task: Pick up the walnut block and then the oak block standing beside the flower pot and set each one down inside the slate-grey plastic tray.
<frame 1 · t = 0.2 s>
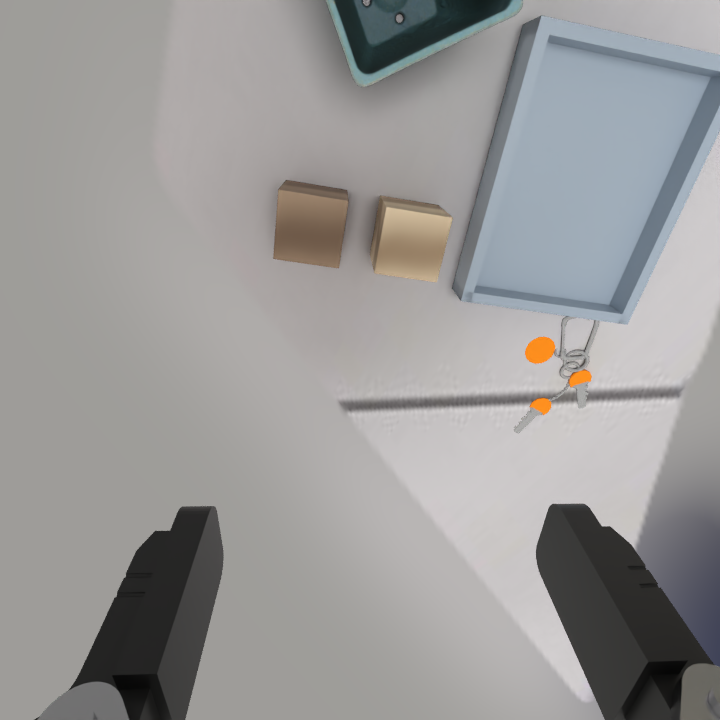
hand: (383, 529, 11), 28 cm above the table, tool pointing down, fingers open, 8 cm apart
key chain: (554, 373, 43), on the table
oak block: (403, 230, 35), on the table
walnut block: (313, 216, 34), on the table
tray: (571, 188, 34), on the table
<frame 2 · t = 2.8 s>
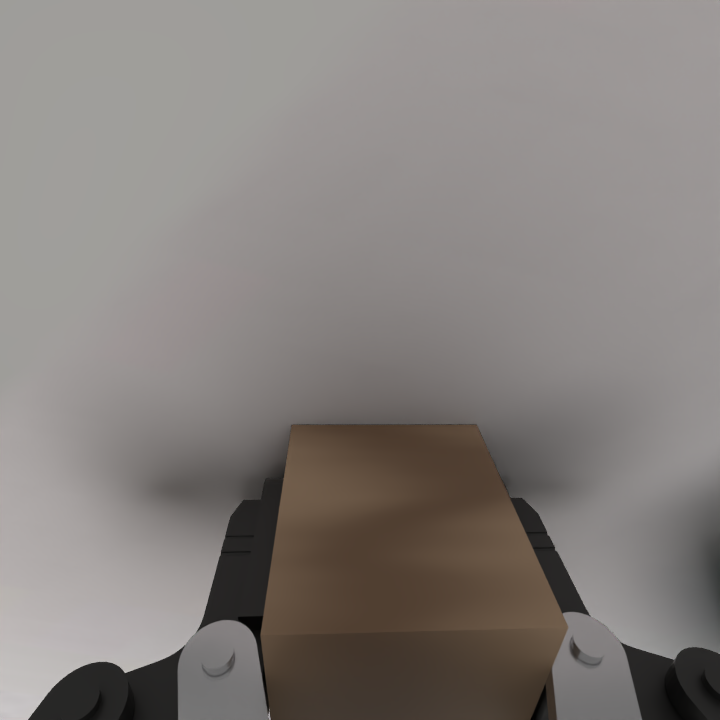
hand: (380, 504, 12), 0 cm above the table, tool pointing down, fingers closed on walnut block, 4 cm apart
walnut block: (380, 493, 12), on the table, touching gripper
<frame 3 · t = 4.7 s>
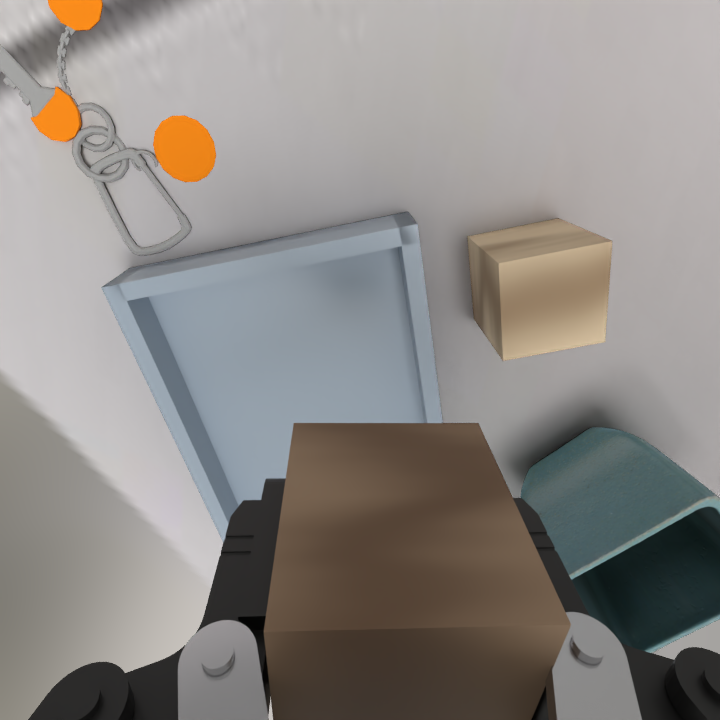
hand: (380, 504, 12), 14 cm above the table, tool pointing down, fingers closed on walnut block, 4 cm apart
key chain: (111, 101, 20), on the table
flower pot: (577, 464, 30), on the table
oak block: (513, 270, 23), on the table
walnut block: (381, 492, 12), point 13 cm above the table, touching gripper
tray: (310, 393, 26), on the table
when the fingers open (3 cm above the table, at t = 6.9 s): walnut block drops 2 cm, resting on tray.
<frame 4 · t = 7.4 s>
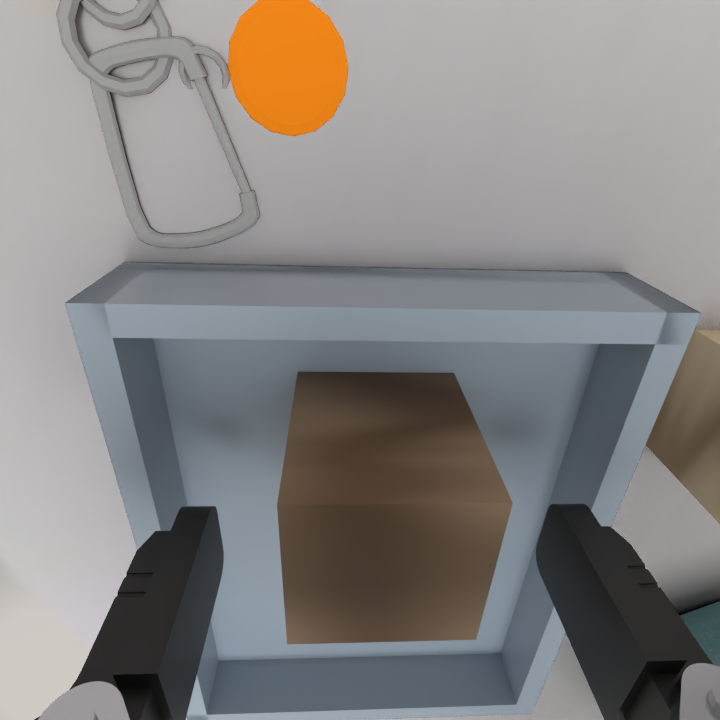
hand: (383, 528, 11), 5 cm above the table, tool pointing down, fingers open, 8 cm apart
flower pot: (681, 633, 22), on the table
walnut block: (372, 434, 14), point 1 cm above the table, touching tray
tray: (368, 503, 17), on the table
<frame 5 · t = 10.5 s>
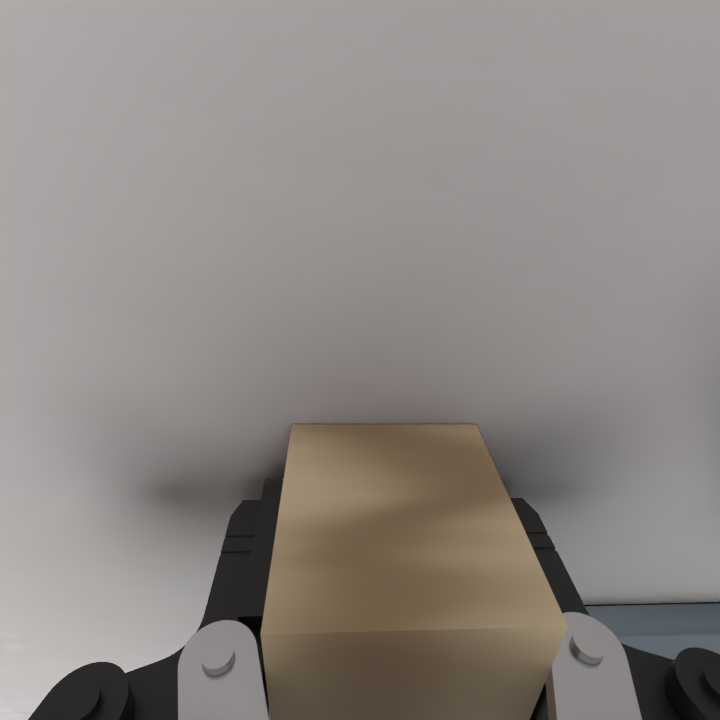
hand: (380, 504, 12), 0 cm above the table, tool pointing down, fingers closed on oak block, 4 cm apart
oak block: (380, 492, 12), on the table, touching gripper
tray: (488, 717, 18), on the table
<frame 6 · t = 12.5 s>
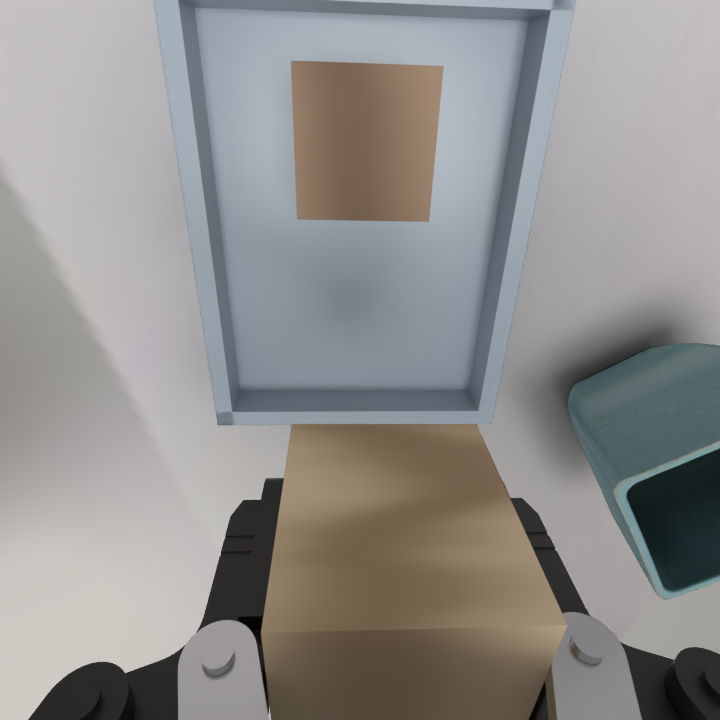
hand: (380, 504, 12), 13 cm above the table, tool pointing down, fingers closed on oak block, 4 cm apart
flower pot: (621, 392, 27), on the table
oak block: (380, 492, 12), point 13 cm above the table, touching gripper
walnut block: (358, 140, 19), point 1 cm above the table, touching tray
tray: (358, 232, 21), on the table
when the fingers open (3 cm above the table, at t = 14.4 s): oak block drops 2 cm, resting on tray.
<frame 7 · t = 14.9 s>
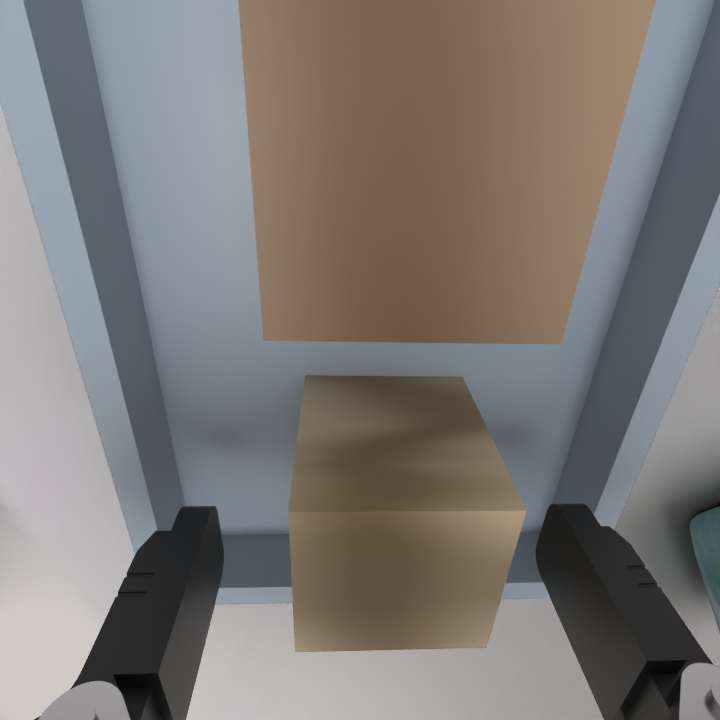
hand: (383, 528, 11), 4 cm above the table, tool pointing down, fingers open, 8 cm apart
oak block: (380, 439, 14), point 1 cm above the table, touching tray
walnut block: (390, 153, 10), point 1 cm above the table, touching tray
tray: (381, 304, 13), on the table
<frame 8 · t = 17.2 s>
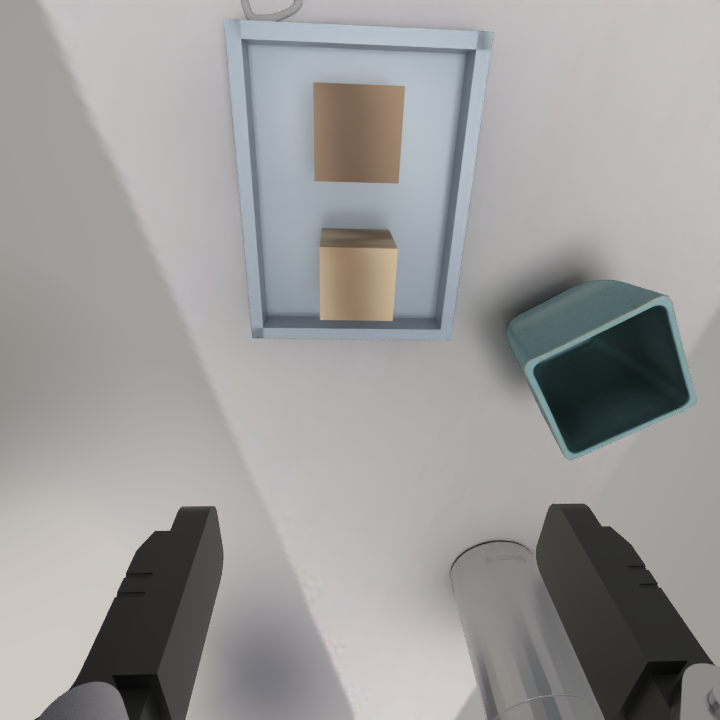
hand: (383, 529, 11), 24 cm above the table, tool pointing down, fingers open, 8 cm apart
flower pot: (551, 325, 36), on the table
oak block: (354, 262, 31), point 1 cm above the table, touching tray
walnut block: (354, 132, 27), point 1 cm above the table, touching tray
tray: (354, 198, 30), on the table
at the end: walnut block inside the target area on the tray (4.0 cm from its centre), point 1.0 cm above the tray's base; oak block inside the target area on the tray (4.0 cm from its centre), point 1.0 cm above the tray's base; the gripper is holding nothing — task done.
